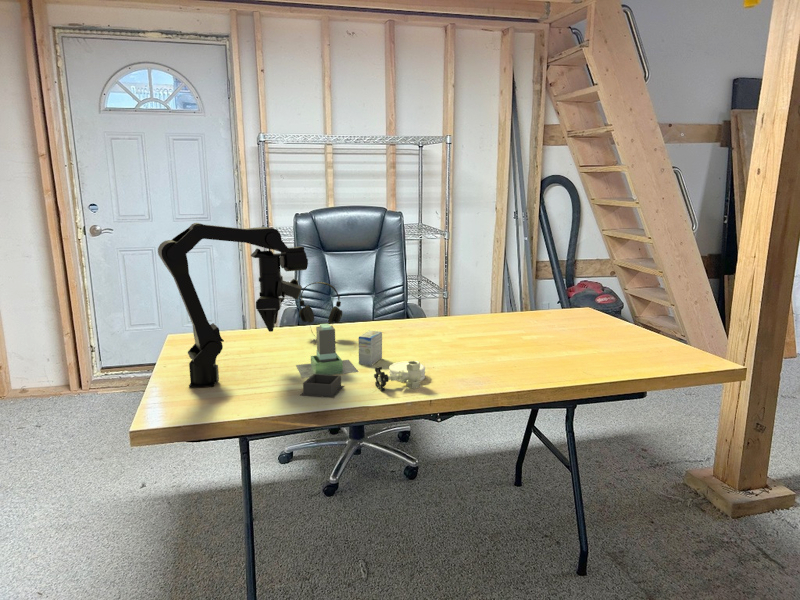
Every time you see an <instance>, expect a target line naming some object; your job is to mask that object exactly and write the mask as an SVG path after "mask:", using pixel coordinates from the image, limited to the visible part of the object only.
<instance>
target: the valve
mask: <svg viewBox="0 0 800 600" xmlns="http://www.w3.org/2000/svg"><path fill="white" fill-rule="evenodd" d="M407 361H408V360H407ZM420 364H421V362H420V361H419V360H409V361H408V362H407V370H406V371H404V370H401V371H399V373H398V374H397V375H396V374H391V375H390V374H386V373H385V371H382V370H383V367H382V366H378V367H375V368H374V372H375V373H374V374H373V377H374V379H375V381H374V385H375V387H377V390H380V392H384V391H386V385H387V383H388V382H389V381H391V382H396V381H397V379H398V380H400V381H399V382H400V383H403V382H406V380H407V382H406V387H407V388H408V389H419V388H420V386H421V381H420V378H421V371H420ZM389 375H390V376H389Z"/></svg>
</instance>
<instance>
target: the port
mask: <svg viewBox="0 0 800 600" xmlns="http://www.w3.org/2000/svg"><path fill="white" fill-rule="evenodd" d="M295 367H296V368H297V371H298V373H299V375H300V377H301V378H302V379H308V378H310V377H311V376H312V375H313V374H325V375H343V374H351V373H359V371H358V369H357V367H356V366H355V365H354V364H353V363H352V362H351V360H349V359H342V358H341V357H340V356H339V354H338V353H337V352H336V361H330V362H320V363H317V354H316V355H310V363H304V364H303V363H302V364H295Z"/></svg>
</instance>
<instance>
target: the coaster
mask: <svg viewBox="0 0 800 600" xmlns="http://www.w3.org/2000/svg"><path fill="white" fill-rule="evenodd" d="M407 362H408V360H407V361H404V360H403V361H397V362H394V363H391V364H390V365H389V367H388V370H389V371H388V376H390V375H391V374H396V375H397V374H398V373H399V371H401V370H404V371H406V370H407ZM420 371H421V378H420V382H422V381H424V380H425V378H426V375H425V374H426V366H425V365H424V364H422V363H420ZM396 381H398V382H401V381H400V380H398V379H397V380H396ZM405 382H406V383H407V380H406V381H405Z"/></svg>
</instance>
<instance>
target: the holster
mask: <svg viewBox="0 0 800 600" xmlns="http://www.w3.org/2000/svg"><path fill="white" fill-rule="evenodd" d="M344 387H345V385H342V376H341V375H340V374H335V375H325V374H313V375H312V376H311V377H308V378H306V380H305V381H303V382H302V389H303V391H302V392H301V393H300V394H299V396H303V397H313V398H325V399H327V398H328V399H335V397H336V396H338V394H339V393H340V392H341V391H342V390H343V388H344Z"/></svg>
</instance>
